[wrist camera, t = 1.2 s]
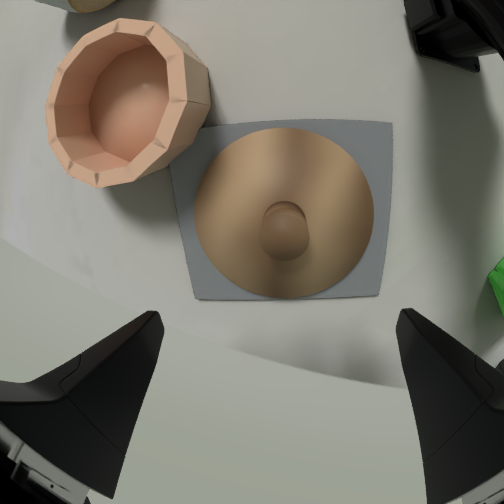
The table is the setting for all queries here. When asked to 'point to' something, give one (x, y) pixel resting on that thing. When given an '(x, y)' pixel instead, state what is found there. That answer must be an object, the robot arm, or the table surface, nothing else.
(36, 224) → the table surface
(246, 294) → the mat
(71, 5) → the ceramic mug
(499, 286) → the fruit basket
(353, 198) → the lid
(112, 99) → the bowl
